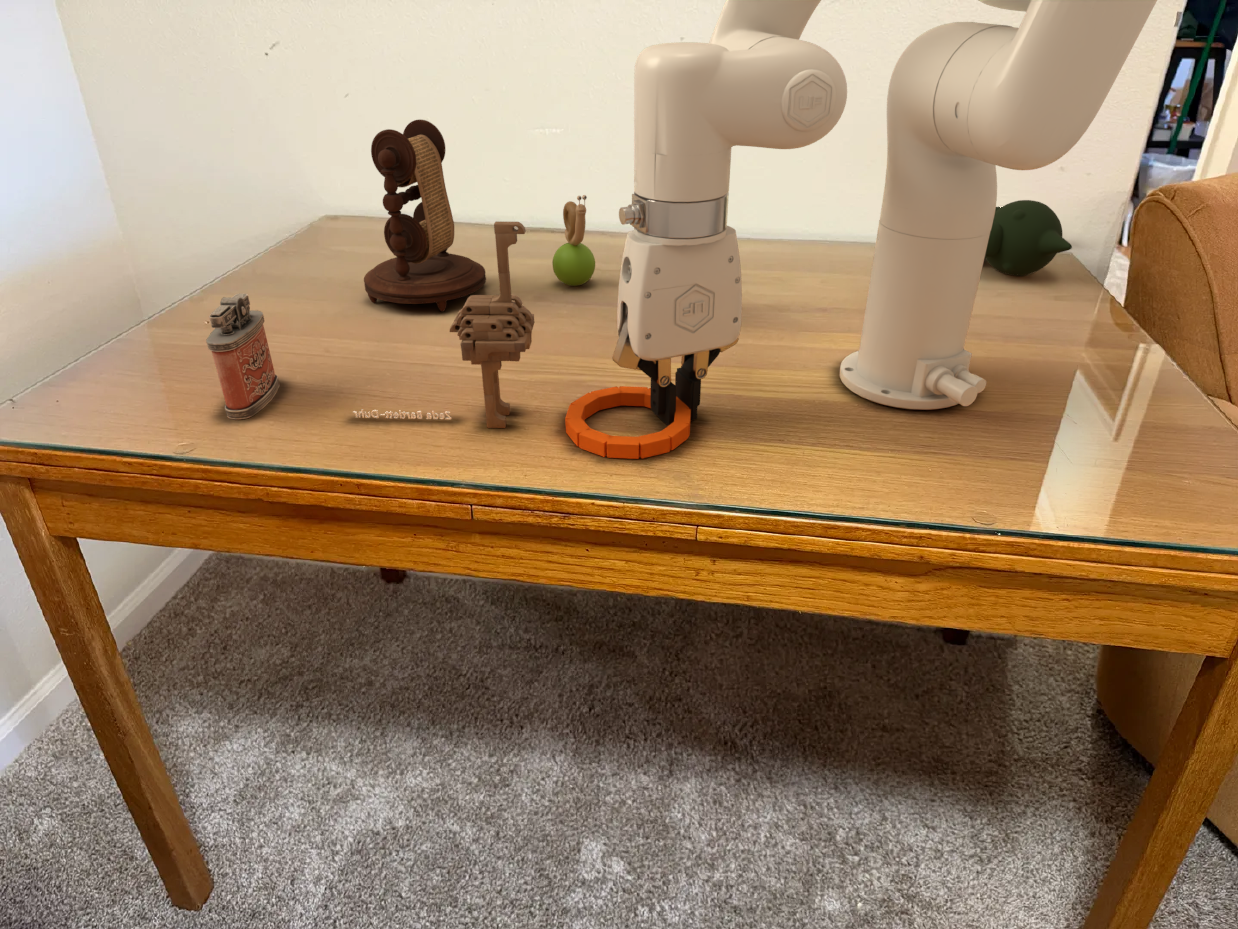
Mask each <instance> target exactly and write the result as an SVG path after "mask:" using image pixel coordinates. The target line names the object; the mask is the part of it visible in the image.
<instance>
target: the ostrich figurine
mask: <svg viewBox="0 0 1238 929" xmlns="http://www.w3.org/2000/svg"><path fill="white" fill-rule="evenodd" d="M515 227H516V228H517V229H516V228H515ZM493 230H494V237H495V250H496V263H497V272H498V275H497V276H498V285H499V286H498V287H499V294H494V295H493V294H492V295H491V294H488V295H487V294H470V296H468V297H467V299H466V301H465V303H464V304H463V306H462V308H460V309H459V311H458V313H457V314H456V316H455V318H454V320H453V322H452V324H451V326H450V327H449V333H457V337H458V340H460V350H461V359H462V361H463V362H465V361H466V362H470V364H471V365H473V366H474V365H479V366H480V367H481V377H482V388H483V389H482V390H483V400H484V410H485V420H486V421H485V422H486V429H506V426H507V416H510V414H511V403H509V402H505V401H503V399H502V398H501V388H500V376H499V375H500V374H499V371H501V369H502V366H503V364H502V362H520V360H521V353H526V350H530V349H531V345H532V342H533V341H532V340H533V338H532V334H533V329H534V325H535V314H534V313H532V312H531V311H530V310H529V309H528V308H527V307H526V306H524V304H523V301H522V299H521V298H520V296H517V295H516V294H512V284H511V272H510V260H509V259H510V258H509V248H510V246H512V245H516V244H517V243H518V235H525V234H526V227H525V226H524V225H523V223H522V222H520V221H495V222H494V223H493ZM431 412H432V413H431ZM431 412H427V413H426V417H425V419H426V420H431V419H433V420H438V419H439V420H452V419H453V418H452V417H451V416H450V414H451V411H444V412H443V413H442V412H441V413H439V414H438V413H437V412H435V411H434V410H432V411H431ZM352 413H353V414H355V418H361V417H362V418H363V419H364V418H366V419H367V418H368V419H370V418H371V417H372V418H374V419H379V416H385V419H398V418H400V419H403V420H404V419H406V415H407V419H413V420H415V419H416V418H417V419H419V420H423V412H422V410H417V411H416V412H411V413H410V412H406V411H402V410H401V409H399V410H398V412H397V411H395V412H393V411H392V410H390V411H388V410H387V411H385V412H384V413H380V414H379V410H378V409H373V410H371V411H368V412H367V411H364V409H361V410H360V411H355V410H353V411H352ZM374 413H375V415H374ZM389 415H390V416H389ZM445 416H447V417H445Z"/></svg>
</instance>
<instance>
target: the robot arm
mask: <svg viewBox="0 0 1238 929" xmlns="http://www.w3.org/2000/svg"><path fill="white" fill-rule="evenodd" d="M821 1H822V0H725V2H724V4H723V6H722V10H721V11H720V14H719V15H718V18H717V21H716V24H715V26H714V29H713V32H712V33H711V36H710V39H709V41H708V42H695V41H678V42H675V41H674V42H664V43H656V44H652V45H649V46H647V47H645V48H644V49H642V50H641V51H640V52H639V54H638V55H637V57H636V60H635V64H634V72H633V74H634V75H633V193H632V194H631V204H628V205H627V206H621V207H620V208H619V210H618V219H619V223H620V224H621V225H623V226H625V225H630V226H632V227H633V230H629V231H628V232H627V234H626V238H625V243H624V248H623V252H622V257H621V264H620V270H619V273H620V274H619V281H618V292H617V309H616V310H617V314H616V315H617V316H616V322H617V325H616V326H617V328H616V329H617V335H618V338H617V342H616V345H615V348H614V351H613V354H612V361H613V362H614V363H615V364H616V365H617V366H619V367H620V368H624V369H628V370H635V371H637V370H638V371H642V373H644V374H645V375H646V376H648V377H649V378H650V388H651V399H650V405H651V408H650V409H651V412H652V413H653V414H654V415H655V416H656V417H658V419H660V420H661V421H662V423H663V424H665V425H666V427H667V426H669V425H670V424H671V423H673V422H674V417H675V412H676V396H677V397H678V398H679V399H680V400H681V401H682V402H683V403H685V404H686V405H687V406H688V407H689V409H691V417H690V422H691V421H695V420H697V419H698V407H699V406H700V405H701V393H702V392H701V390H702V380H703V379H705V378H706V377H707V375H708V372H709V371H708V370H709V367H710V366H711V365H712V364H713V362H714V361H715V360H716V359H717V358H718V356H719V355H720V353H724V352H725V351H727V350H728V349H730V348H732V347H734V346H736V344H738V342H739V340H740V339H739V338H740V334H741V329H742V319H743V318H742V316H743V315H742V314H743V287H742V286H743V285H742V267H741V256H740V249H739V248H740V247H739V241H738V236H737V232H736V229H735V228H734V227H732V226H729V225H728V216H729V214H728V213H729V195H730V193H729V192H730V181H731V180H730V178H731V162H732V161H731V160H732V148H733V147H736V146H740V147H754V148H764V149H773V150H774V149H775V150H794V149H800V148H805V147H807V146H810V145H812V144H814V143H817V142H818V141H820V140H821V139H823V138H825V136H827V135H828V134H829V133H830V132H832V130H833V129H834V128H835V127H836V125H837V124H838V122H839V121H840V120H841V117H842V116H843V113H844V111H845V108H846V105H847V101H848V100H847V99H848V84H847V78H846V75H845V73H844V70H843V68H842V65H841V64H840V63H839V61H838V60H837V59H836V58H835V56H833V55H832V53H830V52H829V51H828V50H826V49H825V48H823V47H822V46H820V45H817V44H816V43H813V42H810V41H807V40H803V39H801V36H802V34H803V33H804V30H805V29H806V26H807V25H808V23H809V20H810V19H811V17H812V15H813V13H814V12H815V10H816V9H817V7H818V6H819V5H820V3H821ZM978 1H979V2H980V3H982V4H984V5H987V6H989V7H993V8H997V9H1001V10H1008V11H1015V12H1016V11H1017V12H1025V14H1024V15H1023V18H1022V20H1021V23H1020V25H1019V27H1014V26H1011V25H1007V24H997V23H996V24H995V23H985V22H976V21H956V22H954V21H953V22H949V23H944V24H940V25H937V26H935V27H932V28H930V29H928V30H926V31H925V32H923V33H922V34H920V35H918V36H917V37H916V38H915V39H914V40H912V41H911V42H910V43H909V45H908V46H907V47H906V48H905V49H904V51H903V52H902V53H901V55H900V56H899V58H898V59H897V61H896V63H895V65H894V68H893V71H892V73H891V76H890V79H889V82H888V83H889V84H888V90H887V96H886V142H887V146H886V147H887V148H886V149H887V150H886V151H887V152H886V169H885V180H884V186H883V187H884V188H883V195H882V202H881V209H880V216H879V220H878V227H877V233H876V238H875V247H874V252H873V259H872V264H871V272H870V278H869V283H868V284H869V285H868V290H867V297H866V305H865V309H864V315H863V322H862V329H861V334H860V341H859V348H858V350H857V351H856V350H855V351H854V352H853V351H852V352H851V353H850V354H848V355H846V356H845V357H844V358H843V359H842V361H841V363H840V366H839V378H840V381H841V383H842V384H843V385H844V386H845V387H846V388H847V389H848V390H849V391H851V392H852V393H853V394H856V395H857V396H859V397H861V398H863V399H865V400H868V401H870V402H872V403H873V402H874V403H877V404H880V405H884V406H888V407H893V408H897V409H905V410H917V411H918V410H920V411H922V410H923V411H924V410H926V411H928V410H939V409H940V410H941V409H945V408H946V409H947V408H950V407H954V406H956V405H961V406H962V407H969V406H970V405H972V404H973V402H975V401H976V399H977V397H978V394H980V393H982V392H983V391H984V390H985V388H986V387H987V380H986V379H985V378H983V377H981V376H979V375H977V374H975V373H971V372H970V366H971V360H972V355H973V353H972V352H971V351H968V350H967V349H965V346H966V342H967V337H968V333H969V328H970V324H971V320H972V315H973V311H974V306H975V301H976V297H977V293H978V288H979V283H980V279H981V275H982V270H983V266H984V261H985V259H984V258H985V253H986V249H987V244H988V240H989V235H990V231H991V228H992V224H993V219H994V215H995V209H996V207H997V200H998V198H997V197H998V176H997V167H1001V168H1005V169H1009V170H1015V171H1033V170H1038V169H1042V168H1045V167H1047V166H1049V165H1051V164H1053V163H1055V162H1056V161H1058V160H1059V159H1061V158H1062V157H1064V156H1065V155H1066V154H1067V153H1069V152H1070V151H1071V150H1072V149H1073V147H1075V146H1076V144H1077V143H1078V142H1079V141H1080V140H1081V138H1082V137H1083V136H1084V134H1086V132H1087V131H1088V129H1089V128H1090V126H1091V124H1092V123H1093V121H1094V120H1095V118H1096V116H1097V114H1098V113H1099V111H1100V109H1101V108H1102V106H1103V104H1104V103H1105V100H1106V98H1107V97H1108V95H1109V92H1110V91H1111V89H1112V87H1113V86H1114V83H1115V82H1116V79H1117V78H1118V76H1119V74H1120V72H1121V70H1122V68H1123V66H1124V64H1125V63H1126V62H1127V59H1128V57H1129V54H1130V53H1131V51H1132V49H1133V48H1134V45H1135V43H1136V42H1137V40H1138V38H1139V36H1140V34H1141V32H1142V31H1143V28H1144V27H1145V24H1146V23H1147V21H1148V19H1149V17H1150V15H1151V14H1152V11H1153V9H1154V8H1155V5H1156V4H1157V1H1158V0H978ZM996 166H997V167H996ZM678 357H681V360H680V364H681V365H680V366H681V367H677V368H676V371H675V375H674V377H675V378H674V380H675V381H674V383H673V382H672V359H673V358H678Z"/></svg>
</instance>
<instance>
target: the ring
mask: <svg viewBox="0 0 1238 929" xmlns="http://www.w3.org/2000/svg"><path fill="white" fill-rule="evenodd" d="M650 399H651V387H647V386H627V385H625V386H624V385H620V386H612V387H606V388H601V389H597V390H592V391H590V392H587V393H584V394H583V395H582V396H580V397H578V398H577V399H575V400H573V401H572V402H571V403H570V404H569V406H568V408H567V412H566V415H565V417H564V418H565V419H564V420H565V421H564V423H565V433H566V434H567V436H568V437H569V438H570V439H571V441H572V442H573V443H574V445H576V447H578V448H579V449H581V450H583V451H586V452H589V453H592V454H594V455H597V456H600V457H603V458H605V457H606V458H610V459H630V460H639V459H647V458H651V457H655V456H658V455H663V454H667V453H670V452H671V451H674V450H675V449H677V448H678V447H679V446H680V445H681V444H683V443H684V442H686V441H687V440H689V437H690V434H691V420H690V417H691V409H689V407H688V406H687V405H686V404H685V403H683V402H682V401H681V400H680V399H679V398H678V397H677V396H676V412H675V417H674V422H673V423H671V424H670V425H669V426H667V425H666V427H665V428H663V429H662V430H660V431H656V432H651V433H647V434H643V435H638V436H630V435H629V436H628V435H627V436H625V435H611V434H608V433H605V432H602V431H599V430H596V429H593V428H591V427H590V426H589V425H588V424H587V423H586V421H585V420H586V419H588V418H590V417H592V416H593V415H594V414H595V413H597V412H599V411H602V410H606V409H611V408H615V407H620V406H624V407H625V406H627V407H645V408H647V409H651V405H650Z"/></svg>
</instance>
